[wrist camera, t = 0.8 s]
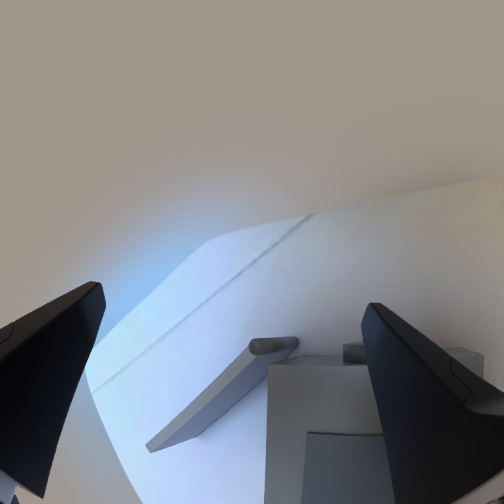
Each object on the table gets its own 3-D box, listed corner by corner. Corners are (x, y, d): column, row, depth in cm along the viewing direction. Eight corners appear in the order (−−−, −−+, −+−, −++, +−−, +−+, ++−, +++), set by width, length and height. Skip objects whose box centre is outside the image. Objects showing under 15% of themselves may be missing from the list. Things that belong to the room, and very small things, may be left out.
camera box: (435, 510, 13) (436, 560, 7) (292, 505, 18) (256, 547, 12) (461, 333, 16) (488, 335, 10) (301, 342, 22) (261, 347, 16)
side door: (197, 437, 23) (151, 454, 18) (188, 425, 24) (141, 439, 19) (301, 343, 22) (267, 347, 16) (288, 330, 22) (252, 330, 17)
